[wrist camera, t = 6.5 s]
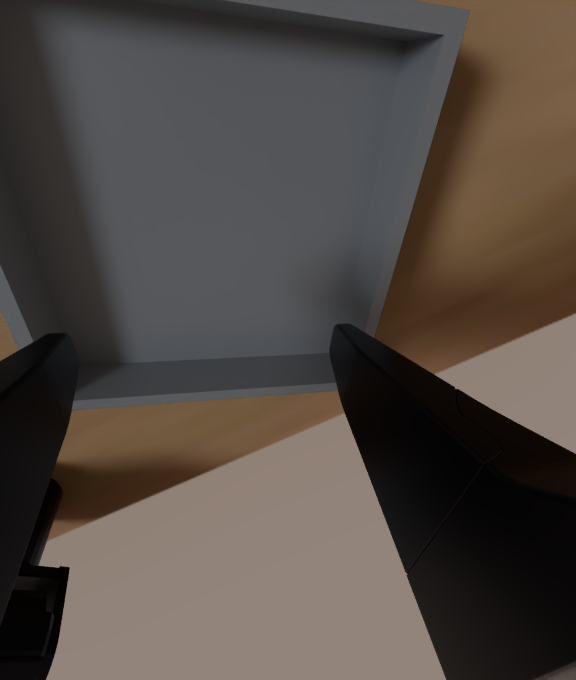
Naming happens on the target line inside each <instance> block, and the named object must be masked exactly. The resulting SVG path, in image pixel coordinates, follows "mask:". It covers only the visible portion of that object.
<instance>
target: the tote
mask: <svg viewBox="0 0 576 680" xmlns="http://www.w3.org/2000/svg"><path fill="white" fill-rule="evenodd" d="M469 14H470V10H465V9H460V8H454V7H448V6H443V5H437V4H431V3H426V2H420V1H415V0H0V309H1V311H2V314H3V316H4V318H5V320H6V322H7V324H8V326H9V329H10V331H11V333H12V335H13V337H14V339H15V341H16V344H17V346H18V348H19V350H20V349H22V348H24V347H25V346H27V345H29V344H30V343H32V342H34V341H35V340H37V339H39V338H41V337H42V336H44V335H46V334H48V333H68V334H69V335H70V336H71V338H72V340H73V343H74V346H75V349H76V352H77V355H78V358H79V361H80V371H79V376H78V381H77V386H76V391H75V396H74V401H73V406H72V410H82V409H95V408H109V407H123V406H136V405H150V404H163V403H177V402H190V401H204V400H218V399H231V398H245V397H258V396H272V395H286V394H299V393H313V392H326V391H338V388H337V384H336V380H335V376H334V372H333V368H332V364H331V360H330V356H329V347H330V342H331V337H332V333H333V328H334V326H335V325H336V324H342V323H350V324H352V325H354V326H355V327H357V328H358V329H360V330H362V331H363V332H365V333H367V334H368V335H370V336H372V337H373V338H374V337H375V334H376V330H377V327H378V324H379V320H380V317H381V313H382V310H383V306H384V303H385V300H386V296H387V293H388V289H389V286H390V283H391V279H392V276H393V272H394V269H395V266H396V262H397V259H398V255H399V252H400V249H401V245H402V242H403V238H404V235H405V232H406V228H407V225H408V221H409V218H410V215H411V211H412V208H413V204H414V201H415V197H416V194H417V191H418V187H419V184H420V180H421V177H422V174H423V170H424V167H425V163H426V160H427V157H428V153H429V150H430V146H431V143H432V140H433V136H434V133H435V129H436V126H437V123H438V119H439V116H440V112H441V109H442V106H443V102H444V99H445V95H446V92H447V88H448V85H449V82H450V78H451V75H452V71H453V68H454V65H455V61H456V58H457V54H458V51H459V48H460V44H461V41H462V37H463V34H464V31H465V27H466V24H467V20H468V17H469Z"/></svg>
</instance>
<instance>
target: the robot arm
mask: <svg viewBox="0 0 576 680" xmlns="http://www.w3.org/2000/svg"><path fill="white" fill-rule="evenodd" d="M329 356H330V360H331V364H332V368H333V372H334V376H335V380H336V384H337V388H338V392H339V396H340V400H341V403H342V406H343V409H344V412H345V414H346V417H347V420H348V422H349V425H350V428H351V430H352V433H353V435H354V438H355V440H356V443H357V446H358V448H359V451H360V454H361V456H362V459H363V462H364V464H365V467H366V470H367V472H368V475H369V477H370V480H371V483H372V485H373V488H374V490H375V493H376V496H377V498H378V501H379V504H380V506H381V509H382V512H383V514H384V517H385V519H386V522H387V525H388V527H389V530H390V532H391V535H392V538H393V540H394V543H395V545H396V548H397V551H398V553H399V556H400V559H401V561H402V564H403V567H404V569H405V572H406V573H407V577H408V580H409V583H410V586H411V588H412V591H413V593H414V596H415V599H416V601H417V604H418V607H419V609H420V612H421V614H422V617H423V619H424V622H425V625H426V627H427V630H428V633H429V635H430V638H431V641H432V643H433V646H434V648H435V651H436V654H437V656H438V659H439V662H440V664H441V667H442V670H443V672H444V675H445V677H446V680H576V454H575V453H573V452H571V451H569V450H567V449H565V448H563V447H562V446H559V445H558V444H556V443H554V442H552V441H550V440H548V439H546V438H544V437H543V436H541V435H539V434H537V433H535V432H533V431H531V430H529V429H527V428H525V427H524V426H522V425H520V424H518V423H516V422H514V421H512V420H511V419H509V418H507V417H505V416H503V415H501V414H499V413H497V412H496V411H494V410H492V409H490V408H489V407H487V406H485V405H484V404H482V403H480V402H478V401H477V400H475V399H473V398H472V397H470V396H468V395H467V394H465V393H464V392H462V391H460V390H459V389H456V390H455V387H454V386H452V385H450V384H449V383H447V382H445V381H444V380H442V379H440V378H439V377H437V376H436V375H434V374H432V373H431V372H429V371H427V370H426V369H424V368H422V367H421V366H419V365H418V364H416V363H414V362H413V361H411V360H409V359H408V358H406V357H404V356H403V355H401V354H400V353H398V352H396V351H395V350H393V349H391V348H390V347H388V346H386V345H385V344H383V343H381V342H380V341H378V340H377V339H375V338H373V337H372V336H370V335H368V334H367V333H365V332H363V331H362V330H360V329H358V328H357V327H355V326H354V325H352V324H350V323H342V324H336V325H335V326H334V328H333V333H332V337H331V342H330V347H329ZM79 371H80V361H79V358H78V355H77V352H76V349H75V346H74V343H73V340H72V338H71V336H70V335H69V334H68V333H48V334H46V335H44V336H42V337H41V338H39V339H37V340H35V341H34V342H32V343H30V344H29V345H27V346H25V347H24V348H22V349H20V350H18V351H17V352H15V353H13V354H12V355H10V356H8V357H7V358H5V359H3V360H2V361H0V680H46V678H47V675H48V673H49V670H50V667H51V665H52V661H53V658H54V655H55V651H56V648H57V644H58V639H59V634H60V627H61V621H62V614H63V608H64V602H65V595H66V589H67V582H68V575H69V569H70V568H69V567H62V566H60V567H59V568H55V567H45V566H38V565H39V562H40V559H41V556H42V554H43V551H44V548H45V545H46V542H47V539H48V536H49V533H50V530H51V527H52V524H53V521H54V518H55V515H56V512H57V510H58V507H59V504H60V501H61V498H62V489H61V487H60V485H59V484H58V483H57V482H56V481H55V480H53V479H52V478H51V476H52V473H53V470H54V467H55V464H56V461H57V458H58V455H59V452H60V449H61V446H62V443H63V440H64V438H65V435H66V431H67V428H68V425H69V420H70V416H71V411H72V406H73V401H74V396H75V391H76V386H77V381H78V376H79Z"/></svg>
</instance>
